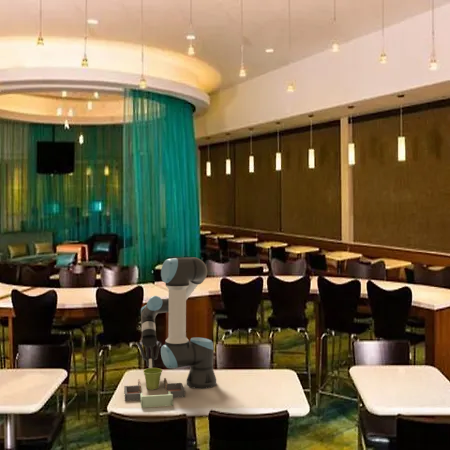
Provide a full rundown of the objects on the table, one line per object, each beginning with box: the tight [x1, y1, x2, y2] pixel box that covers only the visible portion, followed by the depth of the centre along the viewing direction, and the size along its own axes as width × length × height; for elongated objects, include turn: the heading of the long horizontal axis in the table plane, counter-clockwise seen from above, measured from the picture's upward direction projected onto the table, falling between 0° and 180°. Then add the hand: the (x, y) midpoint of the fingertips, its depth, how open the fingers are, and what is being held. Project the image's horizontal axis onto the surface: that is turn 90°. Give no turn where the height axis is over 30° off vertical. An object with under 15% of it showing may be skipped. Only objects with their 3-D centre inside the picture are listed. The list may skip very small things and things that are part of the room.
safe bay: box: [139, 390, 174, 409], centre depth 257 cm, size 11×14×5 cm
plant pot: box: [142, 367, 163, 391], centre depth 278 cm, size 9×9×9 cm
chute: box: [137, 377, 169, 393], centre depth 278 cm, size 10×14×3 cm
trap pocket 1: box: [123, 384, 142, 402], centre depth 266 cm, size 12×8×3 cm, turn 12°
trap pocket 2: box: [166, 382, 186, 399], centre depth 270 cm, size 12×8×3 cm, turn 12°
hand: (150, 371), depth 288 cm, fingers closed
